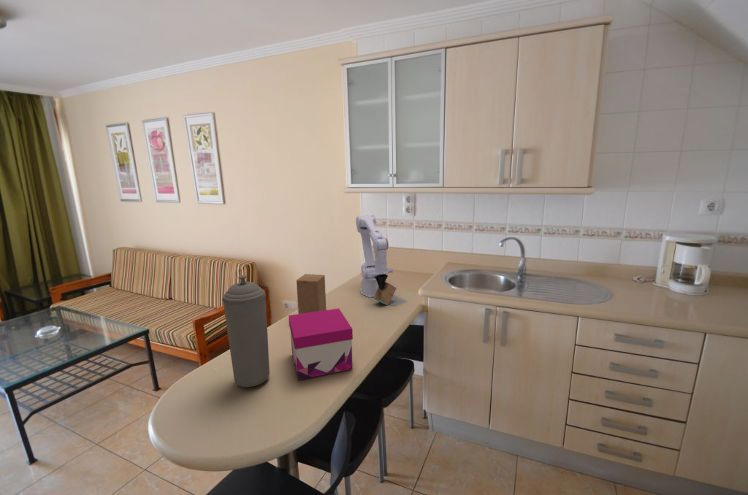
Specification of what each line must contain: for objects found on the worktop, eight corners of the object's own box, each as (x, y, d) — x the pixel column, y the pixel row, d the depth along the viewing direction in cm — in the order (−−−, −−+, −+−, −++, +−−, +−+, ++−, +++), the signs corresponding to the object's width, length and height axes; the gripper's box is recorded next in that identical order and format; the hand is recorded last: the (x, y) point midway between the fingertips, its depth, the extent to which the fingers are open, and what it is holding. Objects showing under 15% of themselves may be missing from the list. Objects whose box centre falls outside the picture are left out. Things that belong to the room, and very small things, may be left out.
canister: (237, 395, 103) (225, 285, 95) (227, 376, 113) (215, 275, 106) (278, 380, 110) (269, 276, 103) (265, 363, 120) (256, 268, 113)
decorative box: (340, 344, 134) (339, 308, 130) (353, 369, 116) (352, 328, 113) (291, 352, 127) (288, 315, 124) (297, 380, 110) (294, 338, 107)
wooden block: (319, 323, 152) (317, 281, 148) (298, 322, 154) (295, 280, 150) (326, 314, 162) (325, 274, 158) (307, 313, 164) (304, 273, 160)
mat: (378, 300, 180) (378, 299, 179) (394, 295, 186) (394, 295, 186) (393, 307, 170) (393, 306, 170) (409, 302, 177) (409, 301, 177)
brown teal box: (373, 298, 173) (381, 280, 175) (380, 302, 177) (389, 285, 178) (380, 301, 168) (389, 283, 170) (387, 305, 172) (396, 288, 174)
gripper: (374, 266, 161) (374, 293, 164) (397, 261, 170) (397, 287, 172) (365, 263, 167) (365, 290, 169) (388, 259, 175) (388, 284, 178)
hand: (381, 288), depth 171 cm, fingers closed
